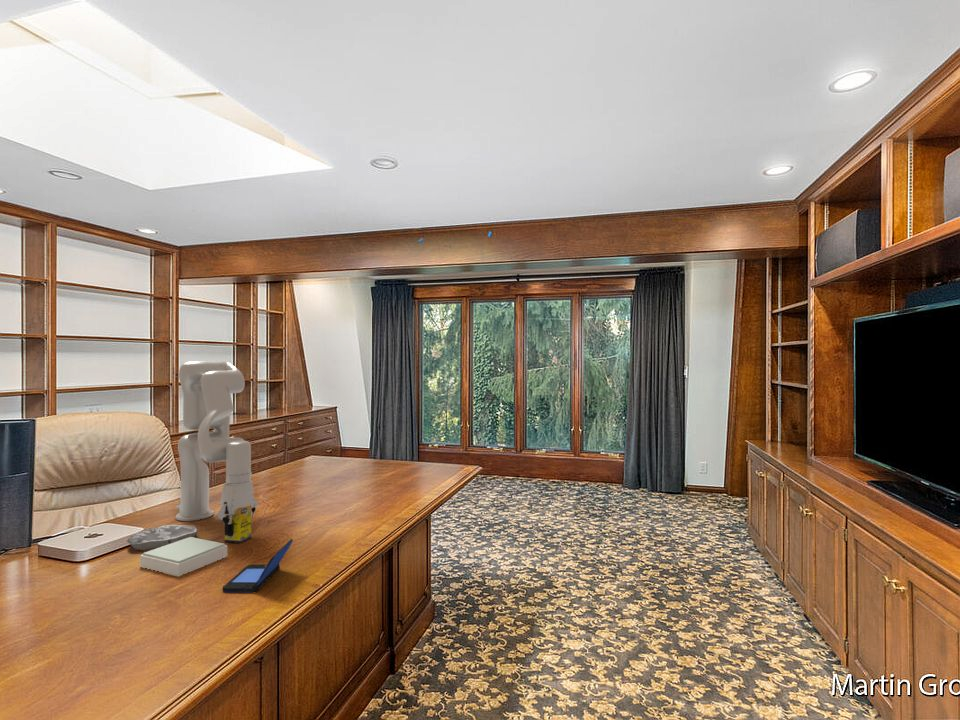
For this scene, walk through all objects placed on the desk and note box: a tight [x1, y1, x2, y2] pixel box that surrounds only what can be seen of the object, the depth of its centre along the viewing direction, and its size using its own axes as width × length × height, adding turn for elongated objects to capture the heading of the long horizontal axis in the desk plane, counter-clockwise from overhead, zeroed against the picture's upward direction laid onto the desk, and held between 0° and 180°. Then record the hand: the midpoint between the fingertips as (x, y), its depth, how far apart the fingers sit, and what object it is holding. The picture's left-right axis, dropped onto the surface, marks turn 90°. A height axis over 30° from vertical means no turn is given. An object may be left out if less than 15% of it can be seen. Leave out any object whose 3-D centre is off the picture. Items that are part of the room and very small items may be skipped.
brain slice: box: [127, 524, 198, 551], centre depth 171 cm, size 20×17×3 cm
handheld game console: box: [222, 538, 294, 593], centre depth 141 cm, size 16×13×9 cm
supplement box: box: [224, 506, 252, 544], centre depth 172 cm, size 6×6×11 cm
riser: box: [139, 536, 228, 578], centre depth 153 cm, size 16×16×4 cm
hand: (238, 531), depth 172 cm, fingers closed on supplement box, 6 cm apart
